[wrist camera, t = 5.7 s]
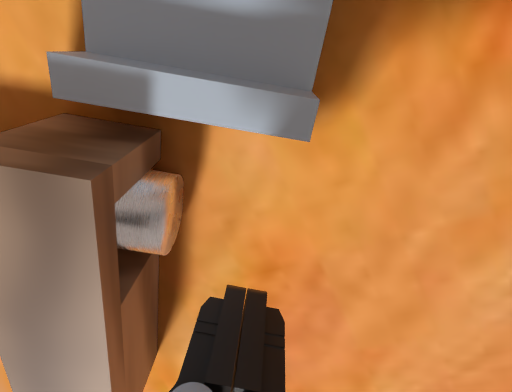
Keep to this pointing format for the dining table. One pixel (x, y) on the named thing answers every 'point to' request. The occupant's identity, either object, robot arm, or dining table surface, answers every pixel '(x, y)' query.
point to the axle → (150, 213)
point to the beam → (74, 258)
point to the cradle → (200, 61)
